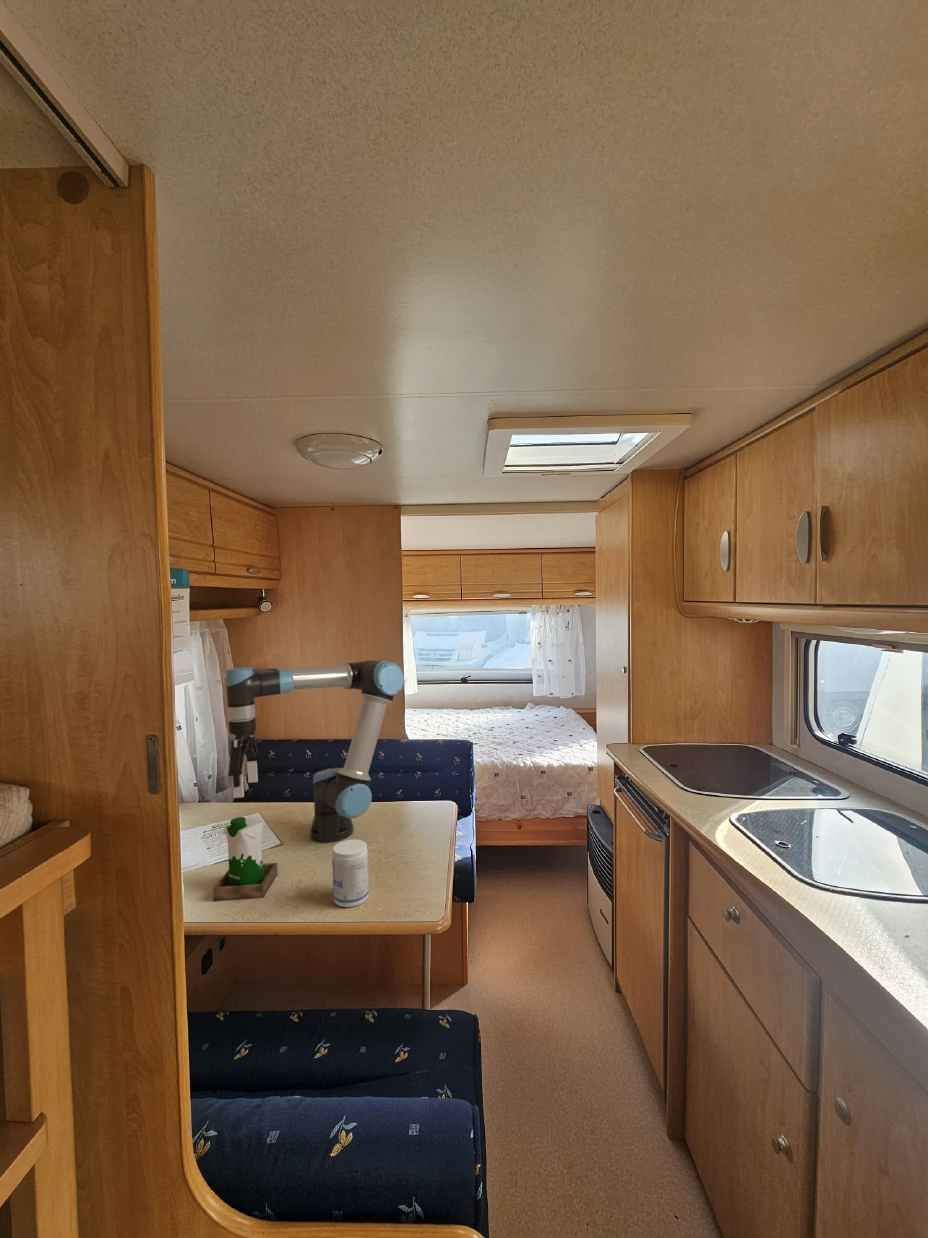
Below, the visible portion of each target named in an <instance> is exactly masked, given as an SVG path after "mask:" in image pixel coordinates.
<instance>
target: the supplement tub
mask: <svg viewBox="0 0 928 1238" xmlns="http://www.w3.org/2000/svg"><path fill="white" fill-rule="evenodd" d="M368 853H369V852H368V844H367V843H366V841H363V840H361V839H348V840H347V839H346V840H341V841H340V842H338V843H336V844H335V845H334V846H333V848H332V854H331V856H332V857H331V858H332V889H333V893H332V894H333V895H332V896H333V902H334V903H335V904H336V905H337V906H339V907H342V908H354V907H357V906H359V905H363V904H364V903H365V902H366V901H367V900H368V898H369V891H370V889H369V886H370V885H369V856H368Z"/></svg>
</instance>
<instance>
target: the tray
mask: <svg viewBox="0 0 928 1238" xmlns="http://www.w3.org/2000/svg"><path fill="white" fill-rule="evenodd" d="M263 869H264V880H263V882H262V883H261V884H255V885H241V886H229V869H228V870H227V871H226V872H225V874H224V875H222V878H221V879H220V880H219V881H218V883H216V885H215V886H214V888H213V889H212V890H213V891H212V895H213V902H223V901H235V900H237V901H240V900H250V899H252V900H253V899H264V898H265V896H266V894H267V893H268V892H269V891H268V890H270V888H271V886H272V884H273V882H274V881H275V879H277V878H276V877H277V875H278V863H277V862H267V863H263Z"/></svg>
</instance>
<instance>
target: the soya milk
mask: <svg viewBox="0 0 928 1238" xmlns="http://www.w3.org/2000/svg"><path fill="white" fill-rule="evenodd" d="M264 823H265V821H262V820H258V819H255V818H254V819H253V818H249V817H243V816H239V817H235V818H232V819H231V820H230V824H228V825H226V826H224V830H225V835H226V839H227V853H228V870H229V886H241V885H255V884H261V883H262V882H263V880H264V869H263V864H264V859H263V857H264V856H263V855H264V854H263V829H264Z"/></svg>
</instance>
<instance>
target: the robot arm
mask: <svg viewBox="0 0 928 1238" xmlns="http://www.w3.org/2000/svg"><path fill="white" fill-rule="evenodd" d="M404 682H405V675H404V673H403V670H402V668H401V667H400V666H399V665H398V664H397V663H394V662H391V661H387V660H372V659H371V660H363V661H356V662H345V663H343V664H342V665H334V666H333V665H331V666H310V667H308V666H305V667H303V666H302V667H301V666H299V667H276V668H260V667H255V668H252V667H249V666H248V667H244V666H243V667H235V668H230V669H229V668H228V670H227V671H226V672H225V688H226V699H227V709H226V710H225V711H226V713H227V717H228V720H229V721H228V733H229V735H231V736H232V735H234V736H235V740H234V739H233V740H231V741H230V744H231V745H230V747H231V748H230V749H231V750H230V758H229V769H228V773H227V775H228V777H231V778H232V779H231V780H232V793H233V795H232V796H233V799H237V798H244V797H245V791H244V790H245V789H244V777H243V775H244V774H243V773H242V771H243V765H244V759H245V757H246V758H247V760H248V761H247V762H246V766H247V767H246V768H247V783H248V784H249V783H258V782H259V777H258V776H259V775H258V763H257V761H259V760H260V754H259V750H258V745H257V742H256V738H255V731H257V724H256V720H257V719H255V718H256V705H255V703H256V702H255V698H261V697H267V696H276V695H283V694H289V693H291V692H292V691H293V690H304V689H305V690H307V689H323V688H341V687H342V688H343V689H345V690H359V691H361V692H360V695H361V697H362V703H361V707H360V708H361V709H360V711H359V714H358V717H357V718H358V719H357V721H356V725H355V728H354V732H353V735H352V738H351V742H350V744H349V745H350V746H349V749H348V752H347V755H346V758H345V762H344V766H343V767H334V768H327V769H323V770H319V771H317V772H316V773H314V774H313V778H312V779H313V780H312V785H313V788H312V789H313V790H312V791H313V807H314V816H313V819H312V824H311V827H310V830H309V835H310V839H311V840H312V841H313V842H318V843H332V842H333V843H334V842H338V841H343V840H345V839H346V838H347V839H348V838H349V837H350V836H351V835H352V834H353V833H354V823H353V821H352V819H356V818H358V817H360V816H362V815H363V814H364V813H366V812H367V810H369V808H370V806H371V803H372V798H373V797H372V795H373V794H372V791H371V789H370V788H369V787H370V783H371V780H372V778H371V777H370V775H369V771H370V768H371V764H372V761H373V756H374V755H375V754H374V753H375V750H376V747H377V742H378V738H379V736H380V732H381V728H382V725H383V722H384V721H383V720H384V718H385V715H386V710H387V707H388V706H389V705H390V704H392V703H393V700H394V698H395V696H396V695H397V694H398V693H400V692H401V690H402V689H403V687H404V684H405V683H404Z"/></svg>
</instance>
